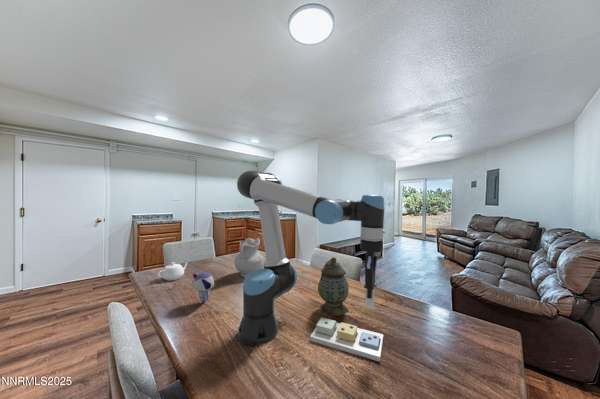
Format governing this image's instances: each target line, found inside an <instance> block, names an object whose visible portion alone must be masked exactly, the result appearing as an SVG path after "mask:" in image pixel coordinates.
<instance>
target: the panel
mask: <svg viewBox="0 0 600 399" xmlns="http://www.w3.org/2000/svg"><path fill="white" fill-rule="evenodd" d="M340 324H341V322H336V328H335V330H334V332H333V334H332V336H330V335H326V334H323V333H319V332H316V327H315V328H314V330H313V331H312V332H311V335H310V336H309V341H310V342H313V343H317V344H320V345H324V346H326V347H330V348H333V349H336V350H339V351H343V352H346V353H350V354H353V355H357V356H360V357H363V358H366V359H369V360H373V361H376V362H379V363H380V362H381V357H382V351H383V344H384V334H382V333H381V332H380V333H379V332H375V331H371V330H368V329H364V328H363V329H362V328H359V327H357V334H356V337H355V340H354V342H351V341H348V340H344V339H341V338H337V330H338V328H339V326H340ZM362 332H365V333H369V334H373V335H377V336H380V343H379V350H376V349H372V348H369V347H365V346H362V345H360V338H361V335H362Z"/></svg>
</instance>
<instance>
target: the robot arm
mask: <svg viewBox="0 0 600 399" xmlns="http://www.w3.org/2000/svg"><path fill="white" fill-rule="evenodd" d="M236 188H237V191H238V192H239V193H240V194H241V195H242V196H243V197H245V198H248V199H251V200H253V204H254V205H255V206H256V207H257V208H258V213H259V219H260V225H261V226H260V227H261V234H262V238H263V246H264V253H265V260H266V261H264V264H263V268H261V269H259V270H254V271H251V272H249V273H248V274H247V275H246V276H245V277H243V285H242V290H243V293H242V296H243V297H242V300H243V301H242V303H243V304H242V305H243V306H242V309H243V311H242V312H243V313H242V318H241V320H240V323H239V327H238V331H237V332H238V333H237V336H238V337H237V338H238V340H239V341H240V342H241V343H242V344H243V345H245V346H249V347H256V346H257V345H259V344H260V345H261V344H262V345H263V344H265V343H269V342H270V341H272V340H273V339H275V338H276V337H277V335H278V334H279V325H278V321H277V318H276V316H275V301H276V299H279V298H280V297H282V296H283V295H284V294H286V293H289V292H290V291H291V290H292V289H293V288H294V287H295V286H296V284H297V280H298V274H297V269H296V268H295V267H294V266H293V265H292V264H291V260H290V259H289V258H287V256H286V251H285V243H284V239H283V238H284V237H283V231H282V226H281V225H282V224H281V219H280V218H281V217H280V211H279V206H280V207H282V208H285V209H288V210H291V211H294V212H298V213H300V214H303V215H305V216H308V217H312V218H314V219H317V220H318V221H319V222H320V223H321V224H324V225H334V224H337V223H341V222H344V221H350V222H351V221H355V222H360V235H359V236H360V238H361V239H360V248H359V249H360V250H361V251H364V252H366V254H365V255H364V260H363V261H364V285H363V289H365V303H364V304H365V307H368V308H374V307H375V306H374V304H375V288H377V284H375V283H376V268H377V264H378V263H377V261H378V255H377V254H376V253H382V252H383V250H384V241H383V239H384V234H385V233H386V231H385V229H384V224H385V223H384V221H385V218H384V217H385V197H384V196H382V195H378V194H363V195H361V199H359V200H358V199H356V200H354V199H341V198H340V199H338V198H336V199H333V198H329V197H325V196H321V195H318V194H315V193H311V192H307V191H304V190H301V189H298V188H294V187H290V186H286V185H284V184H283V183H282V180H281V179H280V178H279V177H278V176H277V175H276V174H273V173H270V172H264V171H263V172H262V171H258V170H246V171H244V172H242V173H241V174H240V175H239V176H238V179H237V181H236Z"/></svg>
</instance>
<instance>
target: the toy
mask: <svg viewBox="0 0 600 399" xmlns="http://www.w3.org/2000/svg"><path fill="white" fill-rule="evenodd" d="M192 277H193V278H194V280H193V282H192V288H193V290H195V291H197V292H198V293H197V296H198V298H199V299H200V300H201V303H203V304H204V303H205V302H207V301H208V300H209V297H210V296H209V294H210V290H211V289H212V288H213V287H214V286H215V279H214V276H213V275H212V274H211V273H210V272H207V271H204V272H200V273H198V274H196V273H192Z"/></svg>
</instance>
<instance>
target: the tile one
mask: <svg viewBox="0 0 600 399" xmlns="http://www.w3.org/2000/svg"><path fill="white" fill-rule="evenodd" d="M336 323H337V321H336V320H333V319H330V318H327V317H326V318H325V317H323V316H322V317H320V319H319V320H318V322H317V323H316V326H315V328H316V332H319V333H323V334H326V335H330V336H332V334H333V332H334V330H335V328H336Z"/></svg>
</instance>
